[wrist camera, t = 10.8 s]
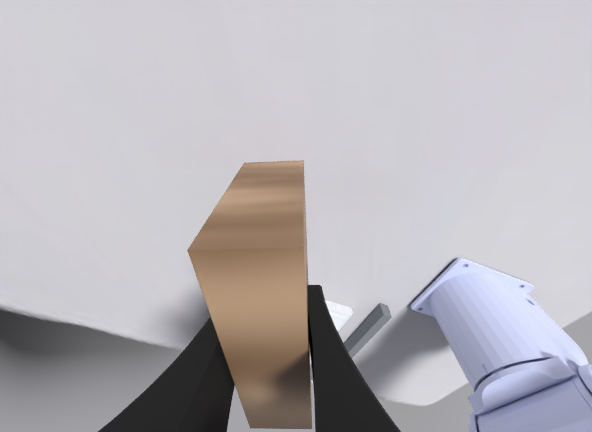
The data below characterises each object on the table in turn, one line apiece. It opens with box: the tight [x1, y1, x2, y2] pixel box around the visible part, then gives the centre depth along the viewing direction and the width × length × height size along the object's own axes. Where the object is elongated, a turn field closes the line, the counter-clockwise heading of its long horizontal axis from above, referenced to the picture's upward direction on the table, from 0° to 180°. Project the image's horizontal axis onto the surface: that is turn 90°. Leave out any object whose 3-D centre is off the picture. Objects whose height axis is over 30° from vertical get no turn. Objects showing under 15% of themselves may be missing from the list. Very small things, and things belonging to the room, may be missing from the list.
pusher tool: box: [188, 160, 312, 429], centre depth 12 cm, size 11×3×7 cm, turn 3°
